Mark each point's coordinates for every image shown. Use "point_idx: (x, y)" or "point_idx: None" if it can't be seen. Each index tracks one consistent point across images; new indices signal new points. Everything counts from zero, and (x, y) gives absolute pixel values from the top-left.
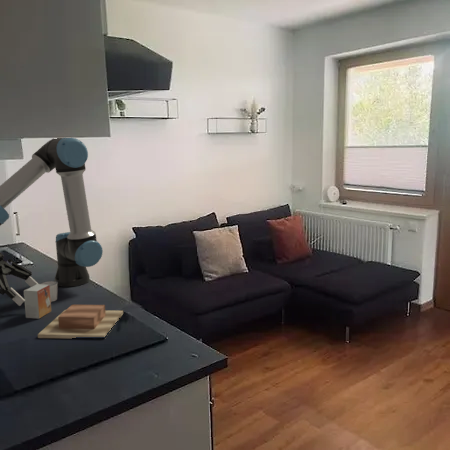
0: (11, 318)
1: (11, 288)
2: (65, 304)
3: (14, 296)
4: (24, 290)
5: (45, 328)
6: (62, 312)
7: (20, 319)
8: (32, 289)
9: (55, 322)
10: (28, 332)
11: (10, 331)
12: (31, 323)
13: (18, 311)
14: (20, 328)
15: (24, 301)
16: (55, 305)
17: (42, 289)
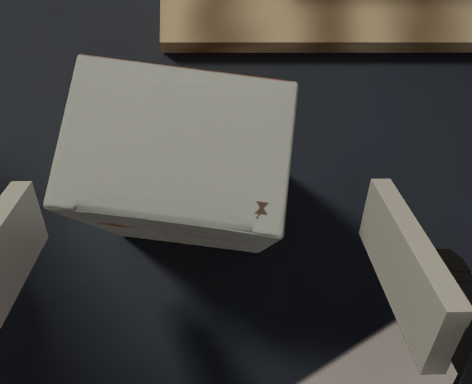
0: (270, 349)
1: (458, 302)
2: (9, 107)
3: (446, 251)
4: (281, 227)
5: (448, 35)
6: (205, 38)
7: (282, 277)
8: (249, 152)
9: (360, 18)
10: (457, 132)
11: (461, 240)
12: (336, 176)
13: (141, 371)
14: (414, 204)
15: (268, 246)
16: (26, 164)
17: (209, 72)
